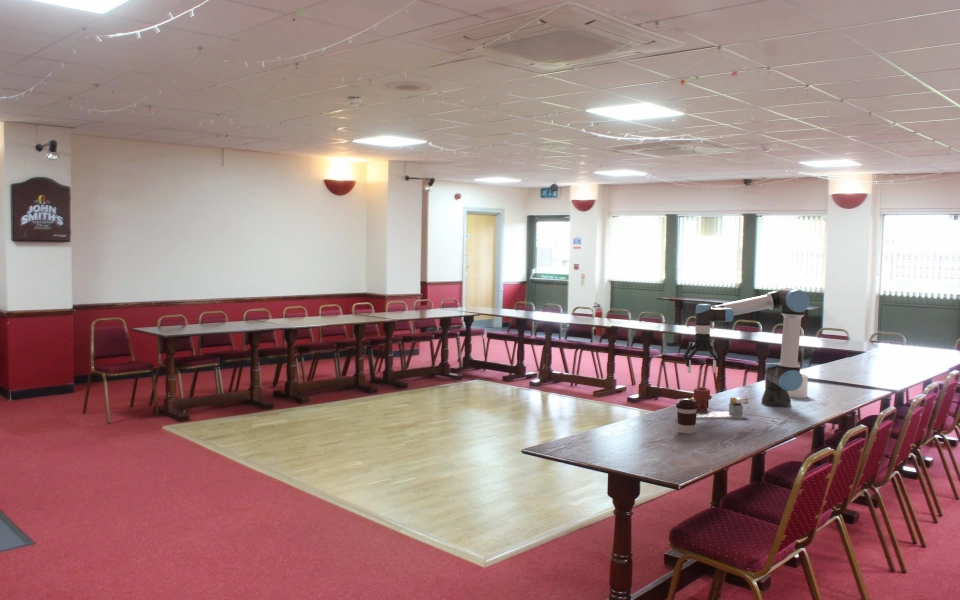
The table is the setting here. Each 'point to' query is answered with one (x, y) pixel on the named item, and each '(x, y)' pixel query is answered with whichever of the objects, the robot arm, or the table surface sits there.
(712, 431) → the table surface
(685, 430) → the coffee cup
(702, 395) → the mechanical component
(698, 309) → the robot arm
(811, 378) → the table surface
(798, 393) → the cup
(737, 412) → the shaft bed
